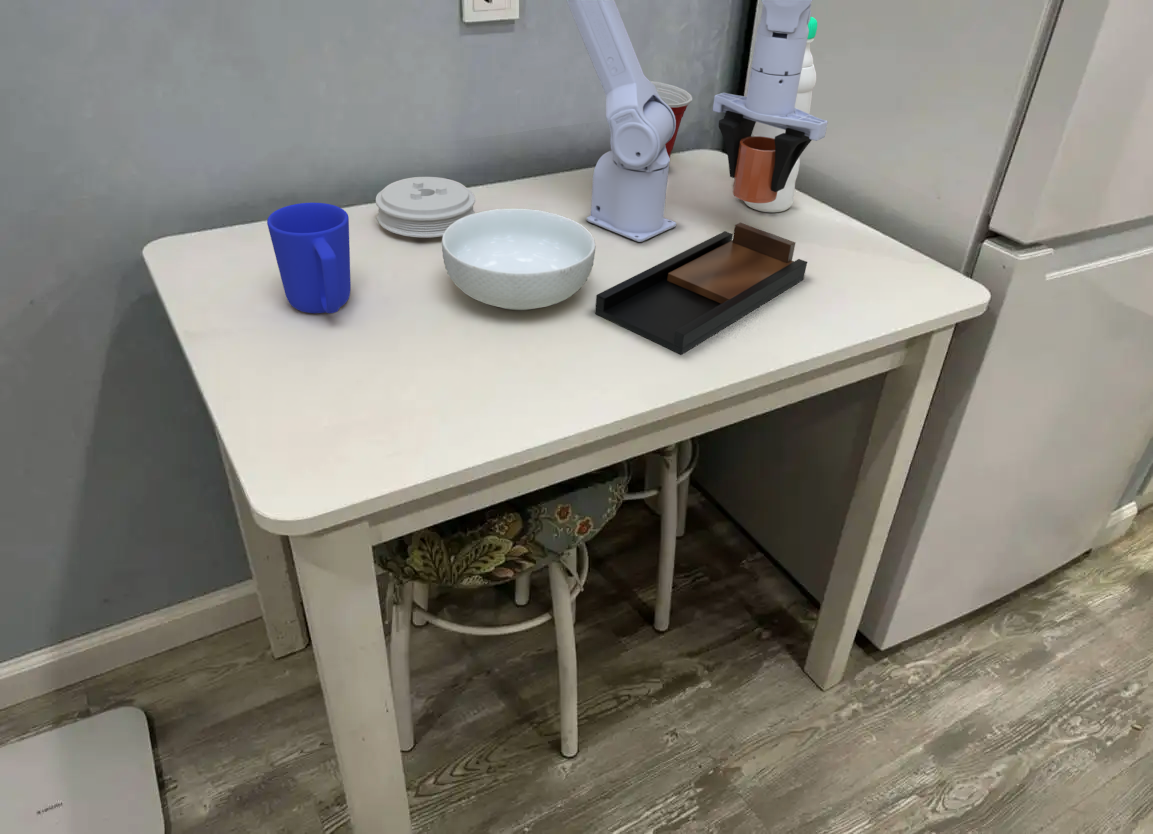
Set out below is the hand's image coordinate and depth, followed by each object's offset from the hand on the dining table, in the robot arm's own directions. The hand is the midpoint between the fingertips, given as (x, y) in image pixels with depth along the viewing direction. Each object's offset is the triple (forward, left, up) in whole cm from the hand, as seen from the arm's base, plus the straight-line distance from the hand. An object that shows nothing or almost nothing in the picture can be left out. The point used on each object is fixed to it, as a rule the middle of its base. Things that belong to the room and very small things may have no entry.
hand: (756, 182), depth 111 cm
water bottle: (-6, +14, -9) cm, 17 cm away
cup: (0, 0, -2) cm, 2 cm away
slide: (+4, -10, -8) cm, 13 cm away
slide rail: (+4, -16, -8) cm, 18 cm away
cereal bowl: (-11, -31, -9) cm, 34 cm away
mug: (-23, -49, -9) cm, 55 cm away
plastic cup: (-26, +12, -9) cm, 30 cm away
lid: (-33, -26, -9) cm, 43 cm away
